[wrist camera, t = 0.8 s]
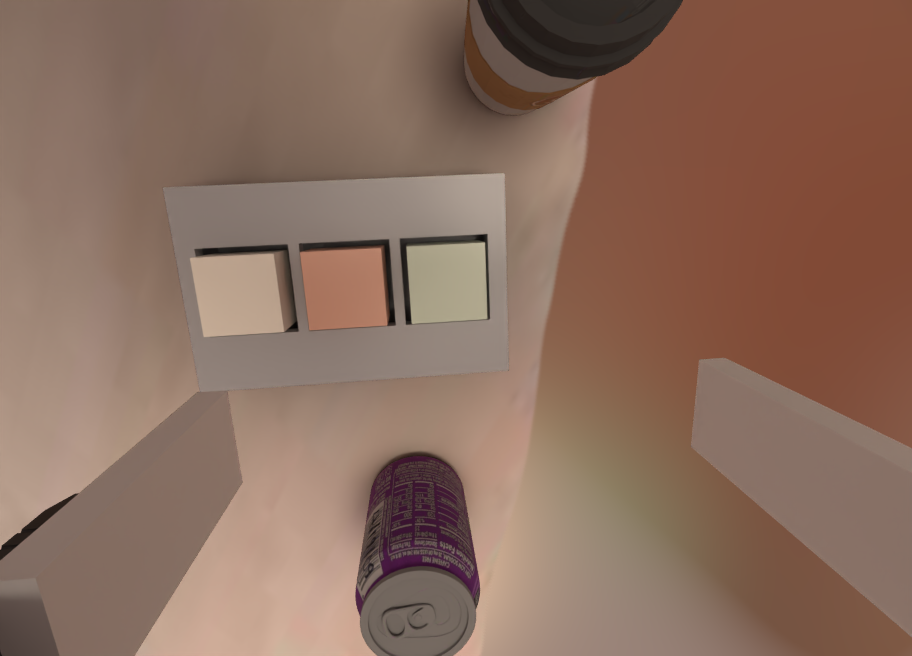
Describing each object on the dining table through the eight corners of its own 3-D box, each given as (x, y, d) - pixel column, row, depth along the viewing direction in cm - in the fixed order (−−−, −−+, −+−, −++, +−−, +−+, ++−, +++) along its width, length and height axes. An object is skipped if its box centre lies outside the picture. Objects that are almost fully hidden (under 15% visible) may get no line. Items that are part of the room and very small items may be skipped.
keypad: (199, 191, 31) (162, 187, 26) (492, 178, 32) (504, 173, 27) (228, 369, 33) (200, 392, 29) (496, 350, 35) (508, 370, 30)
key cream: (212, 253, 28) (189, 257, 26) (287, 249, 29) (273, 253, 26) (224, 325, 29) (203, 337, 27) (296, 320, 30) (284, 332, 27)
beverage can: (384, 542, 38) (370, 688, 26) (360, 463, 36) (334, 582, 24) (471, 520, 38) (496, 656, 26) (452, 441, 36) (470, 548, 24)
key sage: (407, 243, 29) (406, 246, 26) (478, 239, 30) (485, 242, 27) (412, 313, 30) (411, 323, 27) (480, 309, 31) (487, 319, 28)
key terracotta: (311, 248, 29) (299, 252, 26) (384, 244, 29) (380, 247, 26) (319, 319, 30) (309, 330, 27) (389, 314, 30) (387, 325, 27)
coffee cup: (491, 158, 32) (556, 109, 17) (421, 39, 30) (427, -131, 15) (598, 86, 31) (759, -26, 17) (534, -40, 29) (654, -293, 15)
